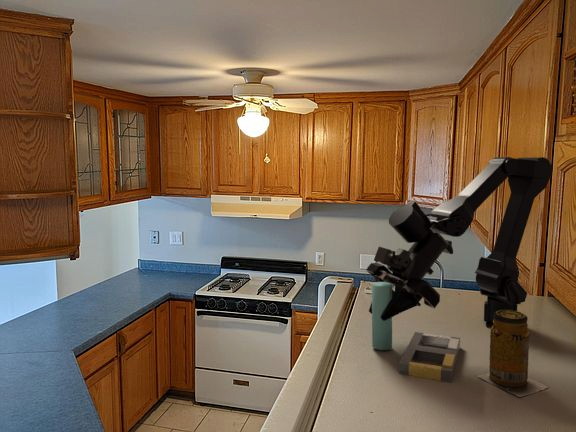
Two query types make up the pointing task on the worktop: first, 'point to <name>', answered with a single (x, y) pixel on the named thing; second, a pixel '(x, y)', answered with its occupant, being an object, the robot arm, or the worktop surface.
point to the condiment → (510, 354)
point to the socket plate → (430, 356)
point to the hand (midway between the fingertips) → (376, 316)
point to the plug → (380, 327)
